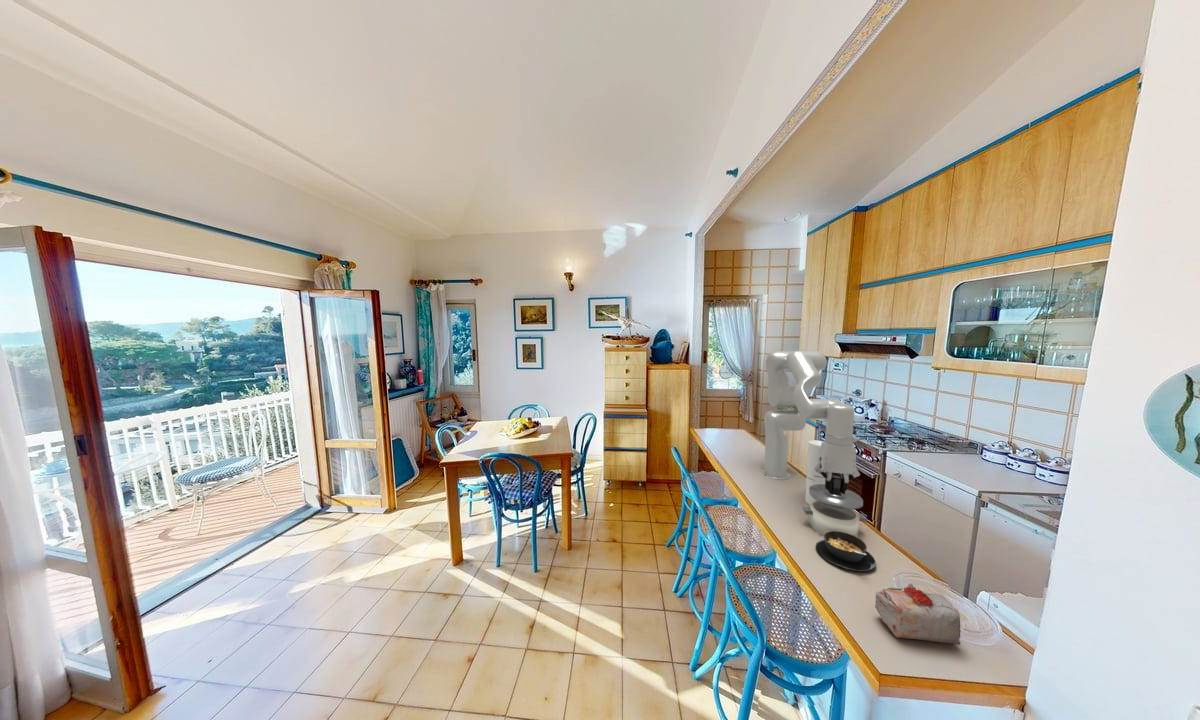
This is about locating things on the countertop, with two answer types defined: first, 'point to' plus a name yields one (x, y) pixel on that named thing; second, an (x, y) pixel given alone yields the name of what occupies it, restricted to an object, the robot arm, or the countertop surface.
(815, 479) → the cylindrical container
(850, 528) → the pot
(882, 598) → the food item
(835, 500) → the lid
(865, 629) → the countertop surface
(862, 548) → the soup bowl
